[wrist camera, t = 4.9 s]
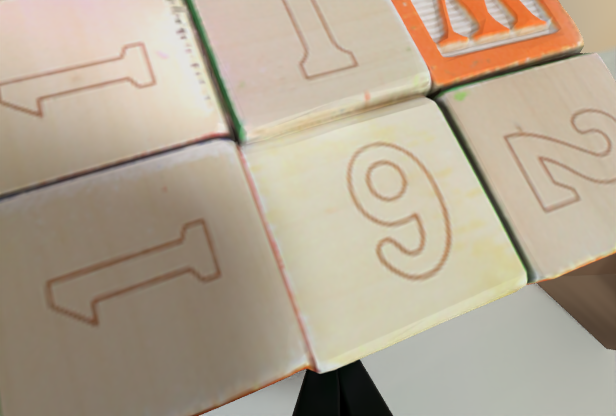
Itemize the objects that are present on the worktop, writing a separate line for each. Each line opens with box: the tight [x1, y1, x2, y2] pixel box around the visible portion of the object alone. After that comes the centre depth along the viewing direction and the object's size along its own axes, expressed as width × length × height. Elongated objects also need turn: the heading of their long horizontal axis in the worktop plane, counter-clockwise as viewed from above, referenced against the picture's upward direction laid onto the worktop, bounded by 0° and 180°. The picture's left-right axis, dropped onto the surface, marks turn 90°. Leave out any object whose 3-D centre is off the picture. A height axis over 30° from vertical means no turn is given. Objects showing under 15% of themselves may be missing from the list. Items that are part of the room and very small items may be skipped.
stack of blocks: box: [0, 0, 616, 416], centre depth 9 cm, size 21×6×12 cm, turn 110°
